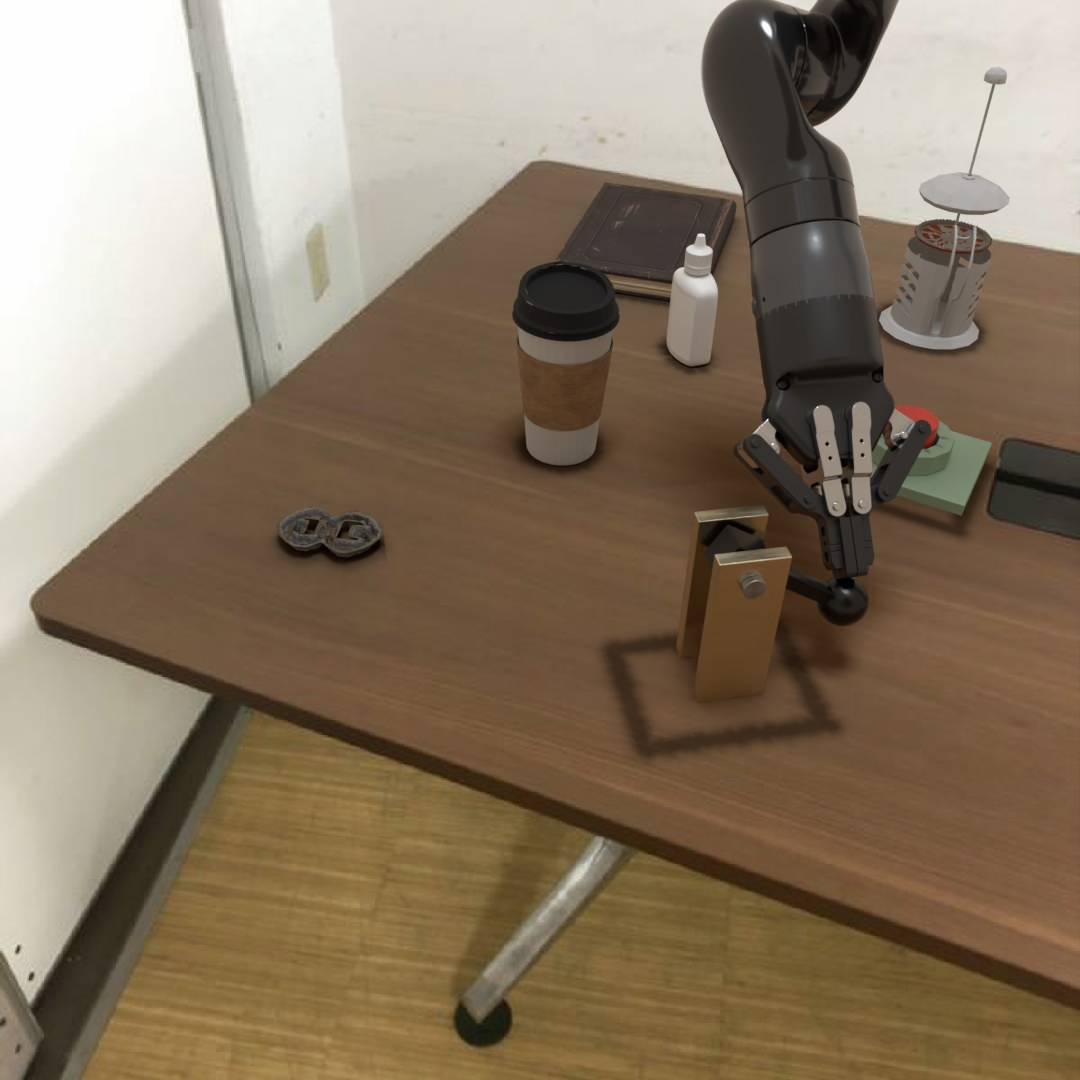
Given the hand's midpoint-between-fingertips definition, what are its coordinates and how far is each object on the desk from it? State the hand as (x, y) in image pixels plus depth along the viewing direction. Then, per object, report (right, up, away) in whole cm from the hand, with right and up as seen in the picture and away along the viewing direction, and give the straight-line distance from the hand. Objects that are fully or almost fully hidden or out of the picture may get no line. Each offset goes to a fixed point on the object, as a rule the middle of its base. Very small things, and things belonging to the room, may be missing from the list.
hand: (851, 576), depth 70 cm
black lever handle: (-5, -1, 0) cm, 5 cm away
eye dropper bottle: (-5, +20, +38) cm, 43 cm away
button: (+10, +11, +21) cm, 25 cm away
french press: (+20, +23, +42) cm, 52 cm away
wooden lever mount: (-8, -7, +4) cm, 11 cm away
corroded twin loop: (-35, +2, +15) cm, 38 cm away
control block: (+10, +8, +23) cm, 26 cm away
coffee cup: (-18, +10, +25) cm, 32 cm away
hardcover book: (-7, +35, +55) cm, 66 cm away
